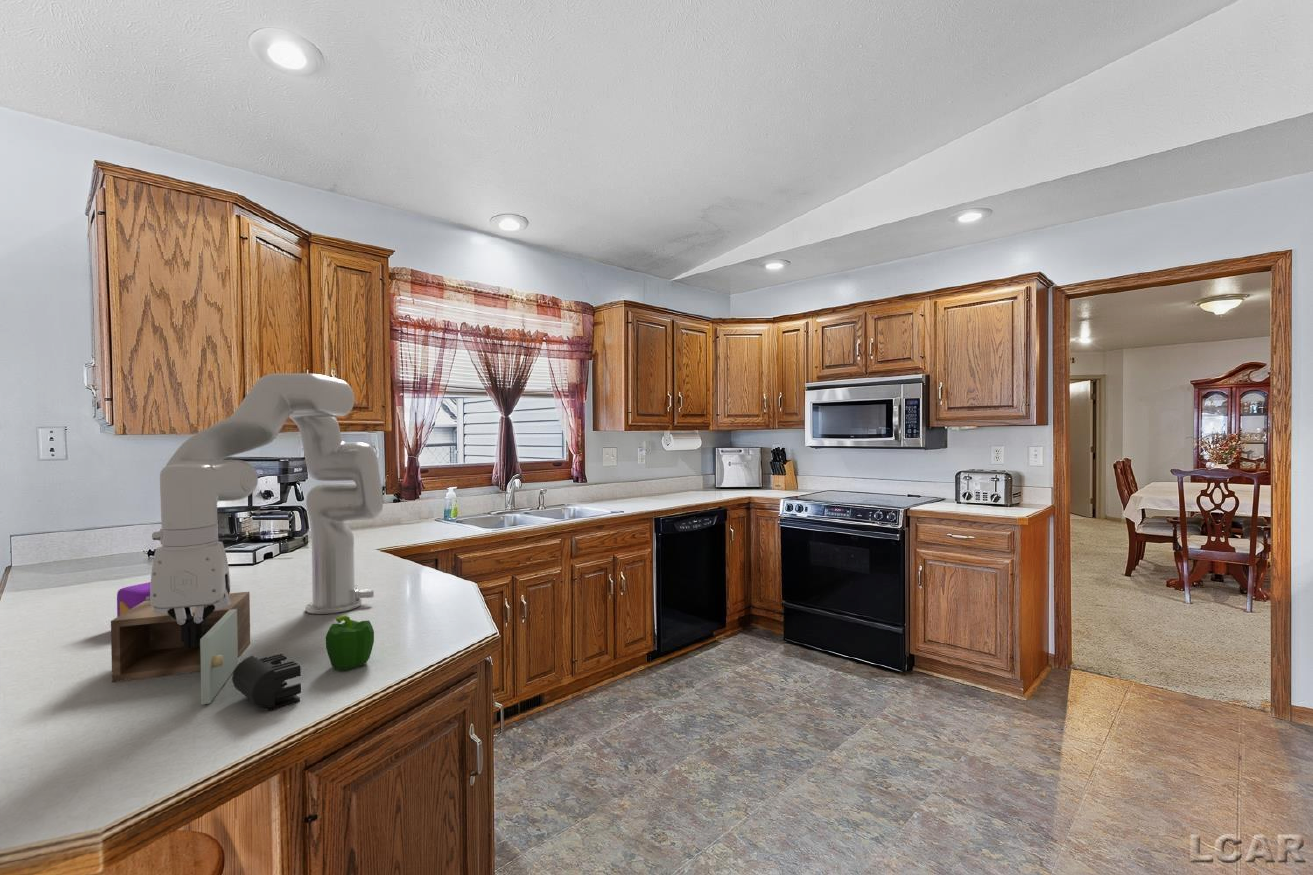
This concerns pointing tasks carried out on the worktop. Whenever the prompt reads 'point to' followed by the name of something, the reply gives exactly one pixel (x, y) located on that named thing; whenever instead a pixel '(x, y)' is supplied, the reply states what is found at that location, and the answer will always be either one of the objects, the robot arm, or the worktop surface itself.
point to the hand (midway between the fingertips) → (194, 644)
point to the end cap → (268, 681)
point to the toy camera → (132, 597)
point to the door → (218, 655)
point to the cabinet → (165, 640)
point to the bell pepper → (349, 643)
